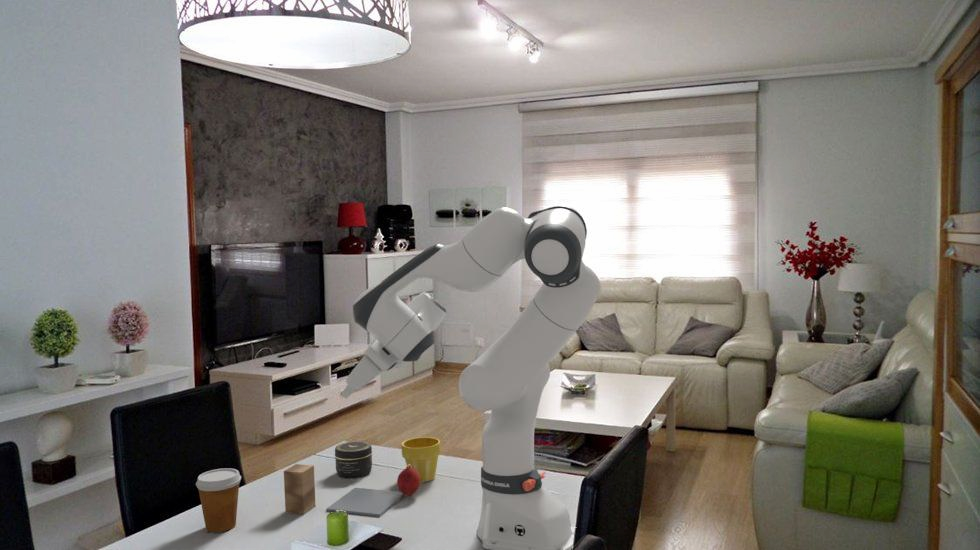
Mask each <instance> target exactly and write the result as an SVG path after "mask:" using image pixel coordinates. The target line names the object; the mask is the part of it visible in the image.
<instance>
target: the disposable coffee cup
mask: <svg viewBox="0 0 980 550" xmlns="http://www.w3.org/2000/svg"><path fill="white" fill-rule="evenodd" d="M196 480H197V481H196V482H195V486H196V488H197V489H198V494H199V499H200V500H199V501H200V503H201V511H202V514H203V521H204V525H205V530H207V531H206V532H208V531H210V532H209V533H211V532H219V533H223V532H222V531H224V532H227V531H226V530H228V531H230V530H232V529H233V527H234V528H235V527H236V526H237V514H238V501H239V490H240V483H241V480H242V475H240V471H239V470H238V469H236V468H231V467H230V468H226V467H225V468H217V469H216V468H215V469H211V470H208V471H205V472H202V473H201V474H199V475H198V477H197V479H196ZM235 525H236V526H235ZM229 529H230V530H229Z"/></svg>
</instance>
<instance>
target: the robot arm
mask: <svg viewBox="0 0 980 550" xmlns="http://www.w3.org/2000/svg"><path fill="white" fill-rule="evenodd" d="M587 233H588V231H587V225H586V222H585V220H584V218H583V216H582V215H581V214H580V213H579V212H578V211H577V210H576V209H575V208H573V207H570V206H567V205H556V206H555V205H554V206H551V207H550V206H549V207H548V208H545V209H544V208H543V209H541V210H537V211H533V212H531V213H530V214H529V215H528V217H527V218H526V217H525V216H523V215H522V214H521V213H520V212H518V211H517V210H514V209H512V208H510V207H504V206H503V207H499V208H496V209H494V210H493V211H491V212H490V213H488V214H487V215H485V216H484V217H483V218H482V219H480V221H478V222H477V223H476V224H474V225H473V226H472V227H471V228H470V229H469V230H468V231H467V232H466V233H465V234H464V235H463V236H462V237H461V238H459V240H457V241H456V242H454V243H451V244H447V245H444V244H441V243H435V244H433V245H431V246H428V247H427V248H426V249H424V250H423V251H421V252H420V253H419V254H417V255H416V256H414V257H412V258H411V259H410V260H408V261H407V262H405V263H404V264H403V265H402V266H401V267H399V268H397V270H395V271H393V272H392V273H391V274H390V275H388V276H387V277H386V278H384V279H383V280H381V281H380V282H378V283H377V284H374V285H372V286H371V287H369V288H367V289H366V290H363V292H362V293H360V295H359V296H358V297H357V298H356V299H355V301H354V304H353V305H352V313H353V314H352V315H353V319H354V322H355V323H356V324H357V325H359V326H360V327H361V328H362V329H364V330H365V331H367V332H368V333H369V334H370V335H372V336H373V337H374V338H373V339H372V340H371V343H370V345H369V346H368V347H367V349H366V350H365V351H364V354H365V355H364V356H363V357H362V358H361V359H360V360H359V362H358V363H357V364H356V366H355V367H354V368H353V369H352V370H351V372H350V373H349V375H348V376H347V378H346V380H345V383H346V384H347V385H346V387H345V388H344V389H343V390H342V391H341V392H340V394H341V396H342V397H343V398H344V399H348V398H349V397H350V396H351V395H352V394H353V393H354V392H359V391H360V390H361V389H363V388H364V387H366V386H367V385H368V384H369V383H370V382H371V381H372V380H374V379H375V378H376V377H377V376H379V375H380V374H383V373H386V372H388V371H390V370H394V369H399V368H401V367H402V366H403V364H405V363H407V362H417V361H419V360H420V359H421V356H422V355H423V354H424V353H425V351H427V350H428V349H429V348H430V347H432V346H433V345H434V344H435V331H436V330H437V329H438V327H439V326H440V325H441V323H442V322H443V320H445V318H446V316H447V314H448V313H447V310H446V308H445V307H444V305H443V304H442V303H441V302H440V301H439V300H438V299H437V298H436V297H435V296H433V295H432V294H431V293H429V292H426V291H422V292H420V293H419V294H418V295H416V296H415V297H413V299H411V300H410V301H409V302H408V303H407V304H406V303H405V302H404V301H403V300H402V299H400V298H399V296H398V293H399V292H401V291H402V290H405V288H407V287H408V286H409V285H411V284H412V283H414V282H415V281H417V280H418V279H423V278H424V279H425V278H426V279H432V280H434V281H437V282H440V283H443V284H444V285H447V286H448V287H451V288H453V289H456V290H458V291H463V292H468V293H477V292H478V293H479V292H481V291H482V292H483V291H485V290H487V289H488V288H490V287H491V286H493V284H495V283H496V282H497V281H498V280H499V279H500V278H501V277H502V276H503V275H504V274H505V273H506V272H507V271H509V269H510V268H511V267H513V265H514V264H516V263H517V262H519V261H520V260H521V261H522V260H525V262H526V265H527V267H528V268H529V269H530V271H531V272H532V273H533V274H534V275H535V276H537V277H538V278H539V279H540V280H541V282H542V285H541V286H540V288H538V290H537V291H536V293H535V294H534V295H533V297H532V298H531V300H530V301H529V302H528V303H527V305H526V306H525V308H524V309H523V310H522V312H521V313H520V315H519V316H518V317H517V318H516V320H515V321H514V322H513V323H512V324H511V325H510V326H509V328H507V330H505V332H503V333H502V335H500V336H499V337H498V338H497V339H495V341H494V342H493V343H492V344H491V345H490V346H489V347H488V348H487V349H486V350H485V351H484V352H483V353H482V354H480V356H479V357H478V358H477V359H475V360H474V361H473V362H472V363H470V364H469V365H468V366H467V367H465V368H464V369H463V370H462V372H461V373H460V375H459V378H458V379H459V380H458V390H459V395H460V397H461V399H462V401H463V402H464V403H465V405H467V407H469V408H470V409H471V410H474V411H478V412H481V411H482V412H483V411H485V412H486V411H487V412H489V411H491V412H490V414H489V417H488V420H487V421H486V423H485V425H484V427H483V429H482V433H481V443H482V445H481V450H482V453H481V455H482V466H481V468H480V486H481V490H482V502H481V511H480V515H479V516H480V518H479V521H478V526H477V529H476V534H477V537H478V538H479V539H480V540H481V542H482V543H481V544H482V547H483V548H484V549H486V550H571V549H572V546H573V538H574V528H576V527H575V526H573V525H572V524H571V517H570V514H569V513H570V512H569V510H568V507H567V506H566V505H565V504H564V503H563V502H561V501H560V500H559V499H558V498H557V497H555V496H554V494H552V493H551V492H550V491H549V490H548V489H547V488H546V487H545V486H544V485H543V481H542V479H545V477H546V475H545V474H546V471H543V472H542V473H539V471H538V469H537V467H536V465H535V428H536V420H537V415H538V410H539V407H540V402H541V398H542V394H543V391H544V389H545V387H546V385H547V384H548V382H549V379H550V377H551V367H550V364H549V363H550V362H551V361H553V360H554V359H555V358H556V357H558V355H559V354H560V353H561V351H562V350H563V349H564V347H565V346H566V345H567V344H568V343H569V341H570V340H571V338H572V337H573V336H574V334H575V333H576V332H577V331H578V330H579V328H580V327H581V326H582V324H583V323H584V321H586V318H587V317H588V316H589V314H590V313H591V311H592V309H593V307H594V305H595V304H596V302H597V300H598V297H599V295H600V293H601V282H600V279H599V277H598V276H597V274H596V273H595V271H594V270H592V269H591V268H590V267H589V266H587V265H585V263H584V262H583V255H584V251H585V247H586V239H587ZM572 550H573V549H572Z"/></svg>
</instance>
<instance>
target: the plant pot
mask: <svg viewBox="0 0 980 550" xmlns="http://www.w3.org/2000/svg"><path fill="white" fill-rule="evenodd" d="M441 446H442V445H441V440H440V439H439V438H437V437H431V436H420V437H419V436H418V437H412V438H409V439H408V438H407V439H406V440H403V441H402V442H401V446H400V447H401V456H402V458H403V459H404V460H405V466H407V465H409V464H411V465H412V468H413V469H414V470H416V471H417V472H418V474H419V476H420V479H421V483H425V482H431V481H432V480H435V478H436V473H437V465H438V461H439V460H438V459H439V456H440V454H441V451H442V450H441V448H442V447H441ZM430 480H431V481H430Z"/></svg>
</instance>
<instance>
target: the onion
mask: <svg viewBox="0 0 980 550" xmlns="http://www.w3.org/2000/svg"><path fill="white" fill-rule="evenodd" d="M421 483H422V482H421V479H420V476H419V474H418V472H417V471H416V470H414V469H413V468H412V465H411V464H409V465H406V467H405V469H403V470H402V471H400V473H399V474H398V476H397V479H396V485H397V488H398V490H399V492H402V493H403V494H404V496H406V497H412V495H414V494H415V493H417V492H418V490H419V489H420V487H421Z"/></svg>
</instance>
